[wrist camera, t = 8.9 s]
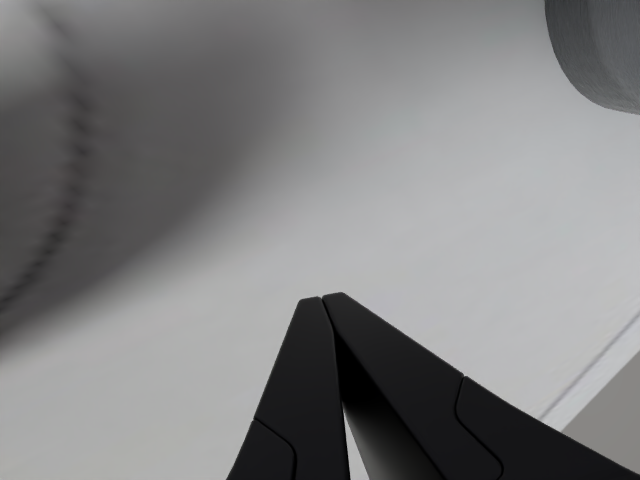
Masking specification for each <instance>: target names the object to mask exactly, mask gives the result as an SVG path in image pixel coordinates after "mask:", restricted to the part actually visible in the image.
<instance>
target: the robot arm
mask: <svg viewBox="0 0 640 480" xmlns="http://www.w3.org/2000/svg"><path fill="white" fill-rule="evenodd" d="M343 410H344V413H345V416H346V418H347V421H348V424H349V427H350V429H351V432H352V435H353V437H354V440H355V442H356V445H357V448H358V450H359V453H360V455H361V458H362V461H363V463H364V466H365V469H366V471H367V474H368V476H369V479H370V480H640V474H637V473H635V472H633V471H631V470H629V469H627V468H625V467H623V466H621V465H619V464H618V463H615V462H614V461H612V460H610V459H608V458H606V457H605V456H603V455H601V454H599V453H597V452H596V451H594V450H592V449H590V448H588V447H586V446H585V445H583V444H581V443H579V442H577V441H575V440H573V439H571V438H570V437H568V436H566V435H564V434H562V433H561V432H559V431H557V430H555V429H553V428H552V427H550V426H548V425H546V424H544V423H542V422H541V421H539V420H537V419H535V418H534V417H532V416H530V415H528V414H527V413H525V412H523V411H521V410H520V409H518V408H516V407H514V406H513V405H511V404H509V403H508V402H506V401H504V400H503V399H501V398H500V397H498V396H497V395H495V394H493V393H492V392H490V391H489V390H487V389H486V388H484V387H483V386H481V385H480V384H478V383H477V382H475V381H474V380H472V379H471V378H469V377H468V376H465V377H464V374H463V373H462V372H460V371H459V370H457V369H456V368H454V367H453V366H451V365H450V364H448V363H447V362H445V361H444V360H442V359H441V358H439V357H438V356H436V355H435V354H434V353H432V352H431V351H429V350H428V349H426V348H425V347H423V346H422V345H420V344H419V343H417V342H416V341H414V340H413V339H411V338H410V337H408V336H407V335H405V334H404V333H402V332H401V331H400V330H398V329H397V328H395V327H394V326H392V325H391V324H389V323H388V322H386V321H385V320H383V319H382V318H380V317H379V316H377V315H376V314H374V313H373V312H371V311H370V310H369V309H367V308H366V307H364V306H363V305H361V304H360V303H358V302H357V301H355V300H354V299H352V298H351V297H349V296H348V295H346V294H345V293H343V292H338V293H333V294H327V295H324V296H323V297H322V299H321V298H320V297H318V296H316V297H311V298H305V299H301V300H300V301H299V302H298V304H297V307H296V309H295V312H294V315H293V317H292V320H291V322H290V325H289V327H288V330H287V333H286V335H285V338H284V340H283V343H282V345H281V348H280V351H279V353H278V356H277V358H276V361H275V363H274V366H273V369H272V371H271V374H270V376H269V379H268V381H267V384H266V387H265V389H264V392H263V394H262V397H261V399H260V402H259V405H258V407H257V410H256V412H255V415H254V418H253V421H252V422H251V425H250V427H249V430H248V432H247V435H246V437H245V440H244V442H243V445H242V447H241V449H240V451H239V454H238V456H237V458H236V461H235V463H234V465H233V467H232V469H231V471H230V473H229V475H228V477H227V479H226V480H351V479H350V470H349V460H348V451H347V442H346V432H345V423H344V413H343Z"/></svg>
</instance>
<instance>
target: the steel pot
mask: <svg viewBox="0 0 640 480" xmlns="http://www.w3.org/2000/svg"><path fill="white" fill-rule="evenodd" d="M545 11H546V19H547V25H548V31H549V36H550V39H551V43H552V46H553V50H554V53H555V55H556V57H557V60H558V62H559V64H560V66H561V68H562V70H563V72H564V73H565V75H566V76H567V78H568V79H569V81H570V82H571V83H572V84H573V86H574V87H575V88H576V89H577V90H578V91H579V92H580V93H581V94H582V95H584V96H585V97H586V98H588V99H589V100H590V101H592V102H594V103H596V104H598V105H600V106H602V107H604V108H608V109H612V110H616V111H621V112H626V113H631V114H637V115H640V0H545Z"/></svg>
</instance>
